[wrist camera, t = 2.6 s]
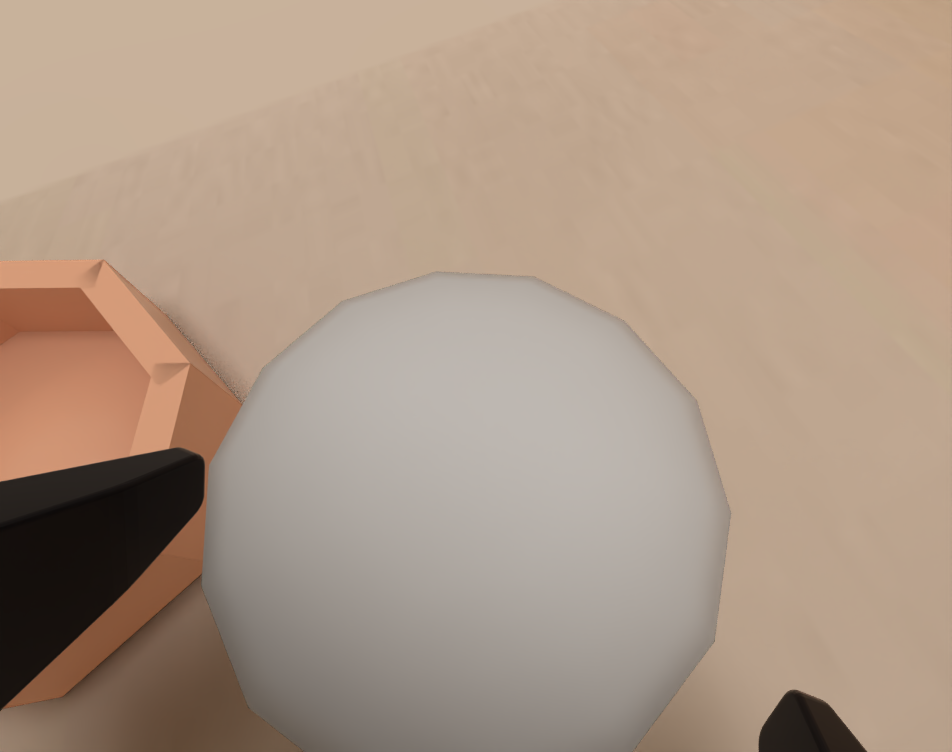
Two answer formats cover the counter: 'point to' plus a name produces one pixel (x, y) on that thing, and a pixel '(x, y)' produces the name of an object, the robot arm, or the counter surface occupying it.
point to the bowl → (102, 417)
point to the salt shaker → (465, 526)
